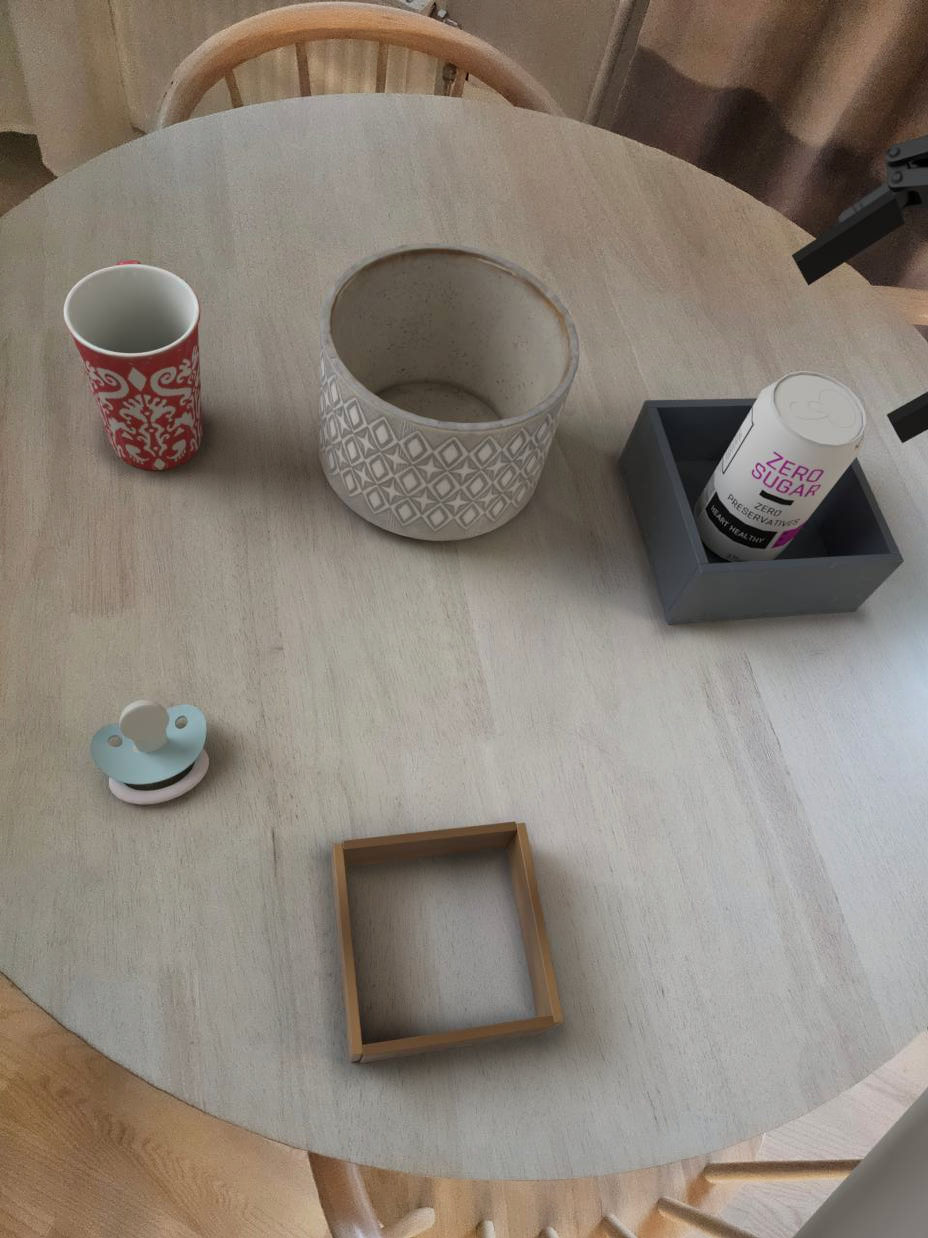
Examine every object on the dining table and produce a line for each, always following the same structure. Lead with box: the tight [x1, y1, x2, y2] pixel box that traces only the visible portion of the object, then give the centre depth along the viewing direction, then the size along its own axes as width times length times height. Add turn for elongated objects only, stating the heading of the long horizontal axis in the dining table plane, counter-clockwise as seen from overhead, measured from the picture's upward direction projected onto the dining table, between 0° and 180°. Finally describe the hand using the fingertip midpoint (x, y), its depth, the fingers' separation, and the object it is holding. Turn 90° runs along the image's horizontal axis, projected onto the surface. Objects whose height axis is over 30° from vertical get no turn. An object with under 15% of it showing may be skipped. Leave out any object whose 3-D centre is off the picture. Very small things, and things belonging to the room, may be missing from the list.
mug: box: [62, 259, 204, 471], centre depth 72 cm, size 13×9×14 cm
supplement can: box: [693, 370, 867, 562], centre depth 74 cm, size 8×8×15 cm
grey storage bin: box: [618, 397, 905, 626], centre depth 77 cm, size 17×17×8 cm
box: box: [330, 821, 564, 1064], centre depth 58 cm, size 12×12×4 cm
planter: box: [317, 242, 580, 542], centre depth 74 cm, size 19×19×14 cm
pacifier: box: [89, 699, 210, 806], centre depth 61 cm, size 7×6×6 cm
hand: (843, 346), depth 59 cm, fingers open, 13 cm apart
